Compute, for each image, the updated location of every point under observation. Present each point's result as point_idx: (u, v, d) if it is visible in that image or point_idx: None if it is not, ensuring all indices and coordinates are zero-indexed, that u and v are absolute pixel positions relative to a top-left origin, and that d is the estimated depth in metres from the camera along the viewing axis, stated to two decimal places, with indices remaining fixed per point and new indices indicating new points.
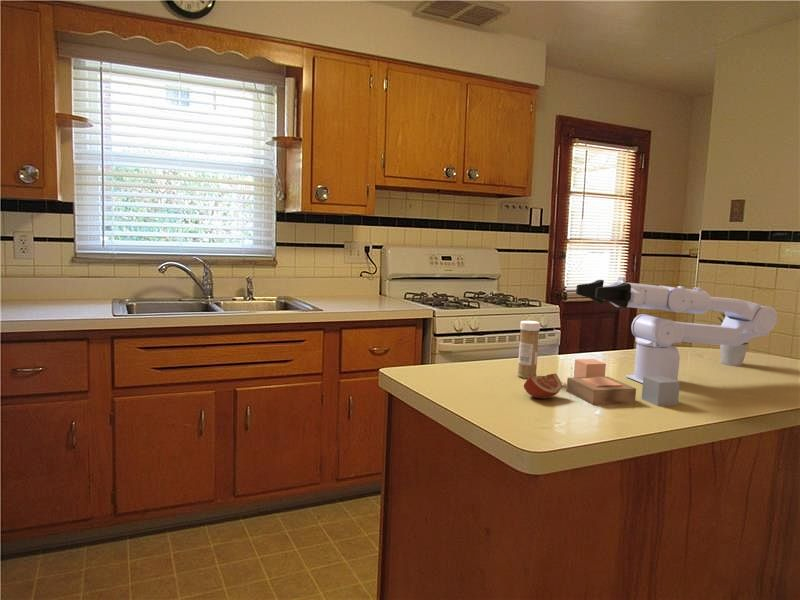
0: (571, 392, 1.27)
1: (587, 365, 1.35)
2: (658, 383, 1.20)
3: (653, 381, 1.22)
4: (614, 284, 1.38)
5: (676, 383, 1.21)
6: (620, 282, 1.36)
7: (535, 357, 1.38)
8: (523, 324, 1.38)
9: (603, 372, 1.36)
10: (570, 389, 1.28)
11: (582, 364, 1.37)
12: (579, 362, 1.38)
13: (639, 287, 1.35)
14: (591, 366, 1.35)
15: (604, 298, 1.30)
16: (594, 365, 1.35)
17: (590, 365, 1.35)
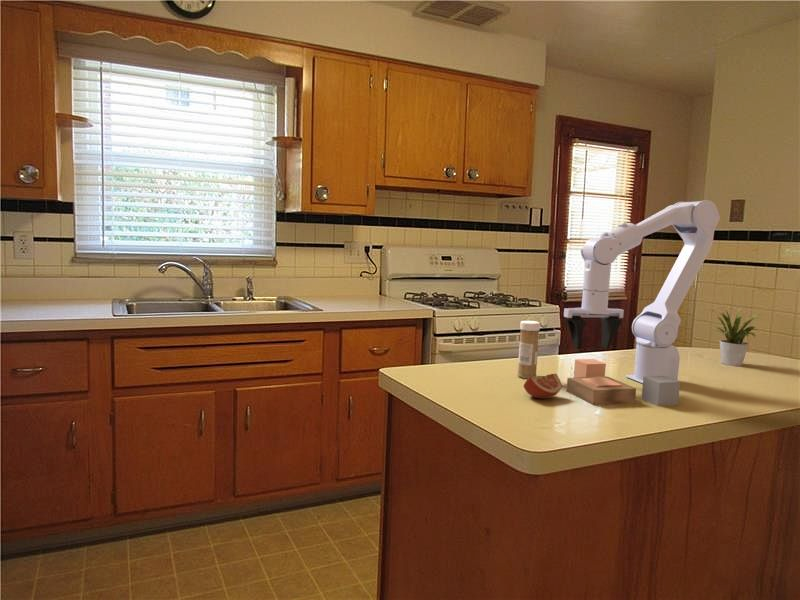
0: (571, 392, 1.27)
1: (587, 365, 1.35)
2: (658, 383, 1.20)
3: (653, 381, 1.22)
4: None
5: (676, 383, 1.21)
6: None
7: (535, 357, 1.38)
8: (523, 324, 1.38)
9: (603, 372, 1.36)
10: (570, 389, 1.27)
11: (582, 364, 1.37)
12: (579, 362, 1.38)
13: None
14: (591, 366, 1.35)
15: (577, 340, 1.35)
16: (594, 365, 1.35)
17: (590, 365, 1.35)
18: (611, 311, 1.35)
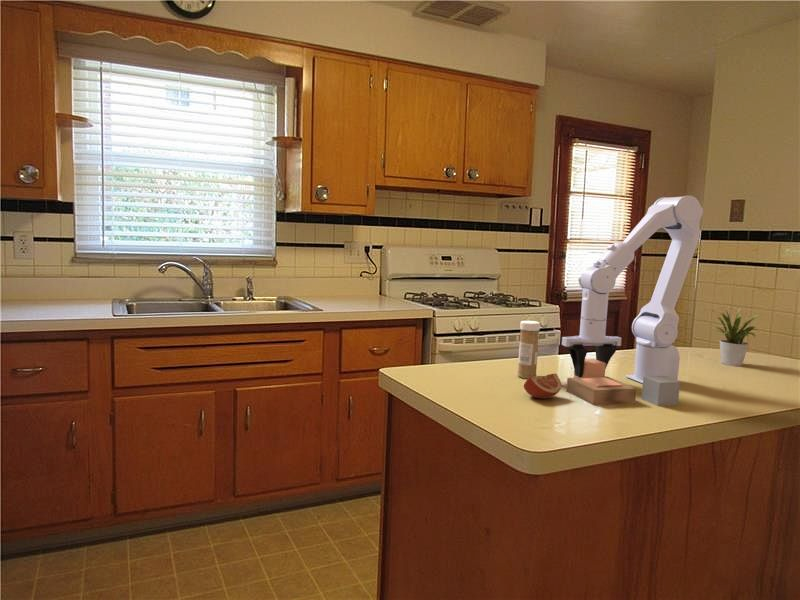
0: (571, 392, 1.27)
1: (587, 365, 1.35)
2: (658, 383, 1.20)
3: (653, 381, 1.22)
4: None
5: (676, 383, 1.21)
6: None
7: (535, 357, 1.38)
8: (523, 324, 1.38)
9: (603, 372, 1.36)
10: (570, 389, 1.27)
11: None
12: None
13: None
14: (591, 366, 1.35)
15: (579, 369, 1.36)
16: (594, 365, 1.35)
17: (590, 365, 1.35)
18: (609, 339, 1.36)
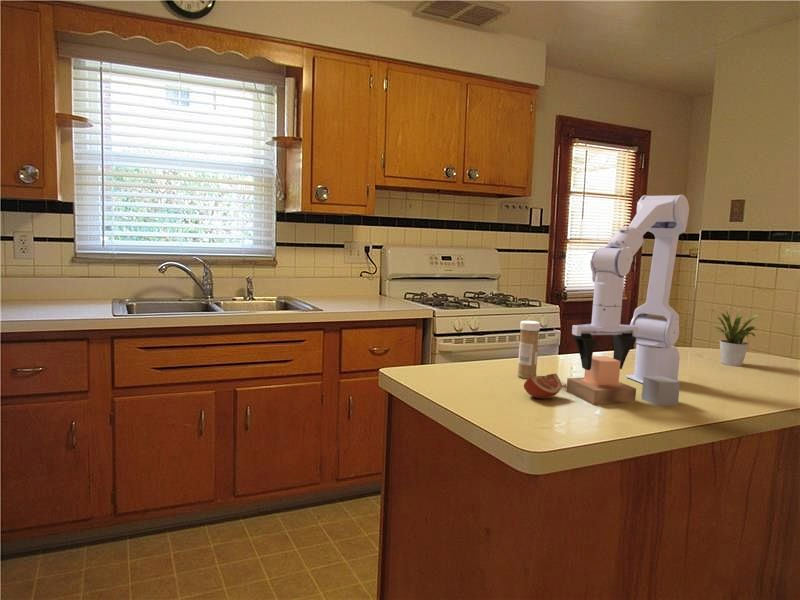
0: (571, 393, 1.27)
1: (600, 363, 1.22)
2: (658, 383, 1.20)
3: (653, 381, 1.22)
4: None
5: (676, 383, 1.21)
6: None
7: (535, 357, 1.38)
8: (523, 324, 1.38)
9: (617, 370, 1.23)
10: (570, 390, 1.27)
11: (594, 361, 1.23)
12: None
13: None
14: (604, 364, 1.22)
15: (587, 361, 1.22)
16: (608, 363, 1.22)
17: (603, 363, 1.22)
18: (624, 328, 1.23)
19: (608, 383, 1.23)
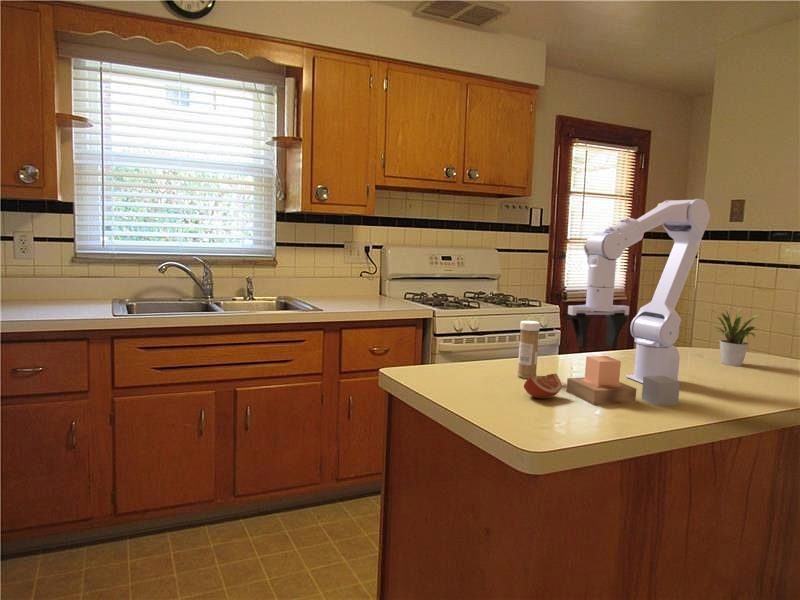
0: (571, 393, 1.27)
1: (600, 363, 1.22)
2: (658, 383, 1.20)
3: (653, 381, 1.22)
4: None
5: (676, 383, 1.21)
6: None
7: (535, 357, 1.38)
8: (523, 324, 1.38)
9: (618, 370, 1.23)
10: (570, 390, 1.27)
11: (594, 361, 1.23)
12: (591, 359, 1.25)
13: None
14: (605, 364, 1.22)
15: (582, 339, 1.31)
16: (608, 363, 1.22)
17: (603, 363, 1.22)
18: (616, 308, 1.31)
19: (608, 383, 1.23)
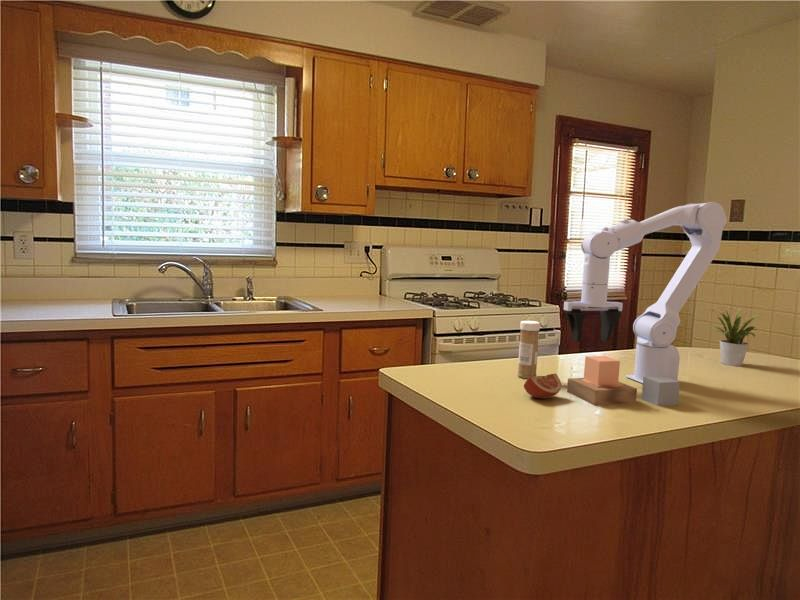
0: (572, 393, 1.27)
1: (600, 363, 1.22)
2: (658, 383, 1.20)
3: (653, 381, 1.22)
4: None
5: (676, 383, 1.21)
6: None
7: (535, 357, 1.38)
8: (523, 324, 1.38)
9: (617, 370, 1.23)
10: (571, 390, 1.27)
11: (594, 361, 1.23)
12: (590, 359, 1.25)
13: None
14: (604, 364, 1.22)
15: (577, 333, 1.37)
16: (607, 362, 1.22)
17: (603, 362, 1.22)
18: (610, 304, 1.37)
19: (608, 383, 1.23)
